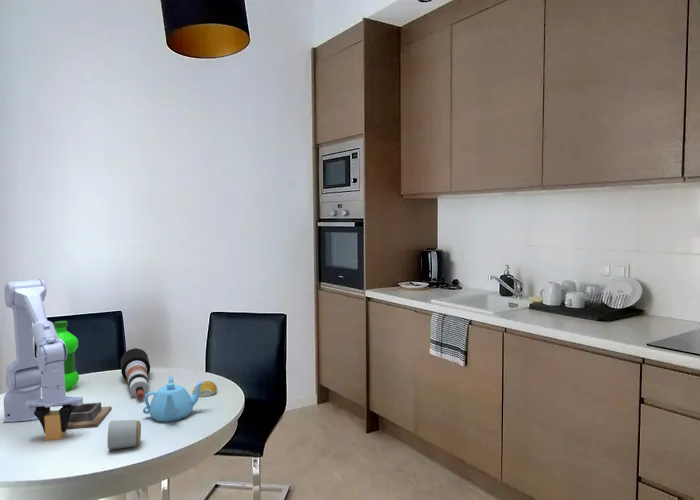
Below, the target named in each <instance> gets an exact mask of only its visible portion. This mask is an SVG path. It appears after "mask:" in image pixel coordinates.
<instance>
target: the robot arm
mask: <svg viewBox="0 0 700 500" xmlns="http://www.w3.org/2000/svg"><path fill="white" fill-rule="evenodd" d="M4 285H5V286H4V290H3V291H4V303H5V306H6V308H9V309H10V308H11V310H12V314H13V325H14V327H13V328H14V341H15V356H16V358H15V360H14V361H12V362H11V363H10V364H8V366H7V367H6V374H5V384H6V387H7V391H6V392H5V394H4V396H3V413H4V419H3V423H13V422H24V421H25V422H26V421H37V420H38V421H39V423H40V425H41V427H42V430H43V434H45V419H44V416H45V415H46V414H47V413H49V412H50V411H51V408H54V407H55V408H56V407H60V408H59V409H58V410H59V413H60V417H61V429H62V432H65V431H66V432H67V430H68V429H67V427H68V422H69V418H70V415H71V412H72V410H73V408H74V406H75V405H77V406H81V405H82V404H84V399H83V396H66V391H65V375H64V362H63V361H65V360H66V358H67V348H66V345H65V343H64V341H62V340H61V338H58V335H57V333H56V328H55V327H54V322H52V321H50V320H48V317H47V314H46V309H45V306H44V305H45V304H44V302H45V299H46V296H47V284H46V281H45V280H43V279H42V278H38V279H29V280H20V281H7V282H6V283H5V284H4ZM34 343H35V346H36V357H35V347H34Z"/></svg>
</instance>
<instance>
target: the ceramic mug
mask: <svg viewBox="0 0 700 500" xmlns="http://www.w3.org/2000/svg"><path fill="white" fill-rule="evenodd" d="M141 436H142V423H141V421H140V419H139V420H138V419H125V420H110V422H109V424H108V426H107V440H106V441H107V449H108V450H110V451H111V450H119V449H125V448H133V447H137V446H139V444H140V442H141V439H142V438H141Z"/></svg>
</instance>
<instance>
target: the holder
mask: <svg viewBox="0 0 700 500" xmlns="http://www.w3.org/2000/svg"><path fill="white" fill-rule="evenodd" d="M111 411H112V406H110V405H109V406H102V402H90V403H89V402H87V403H83V404H82V405H81V406H77V405H75V406H74V408H73V410H72V412H71V415H70V418H69V422H68V427H67V430H74V429H75V430H76V429H87V428H88V429H89V428H98V427H99V425H100V424H101V423H102V421H103V420H104V419H105V418H106V417H107V416H108V415H109V413H110V412H111Z"/></svg>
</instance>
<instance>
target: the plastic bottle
mask: <svg viewBox="0 0 700 500" xmlns="http://www.w3.org/2000/svg"><path fill="white" fill-rule="evenodd" d="M68 324H69V323H68V320H59V321H54V322H53V325H54V327H55V330H56V333H57V335H58V338H61V340H62V341H64V343H65V345H66V348H67V358H66V360H65V361H63V362H64V375H65V392H66V391H70V390H72V389H73V388H74V387H75V386H76V385H77V384H78V382H79V379H80V375H79V373H78V371H77V370H76V368H77V367H76V350H77V349H78V348H79V340H78V337H76V335H74V334H73V333H71V332H70V331H68V330H67V327H69V325H68Z"/></svg>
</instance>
